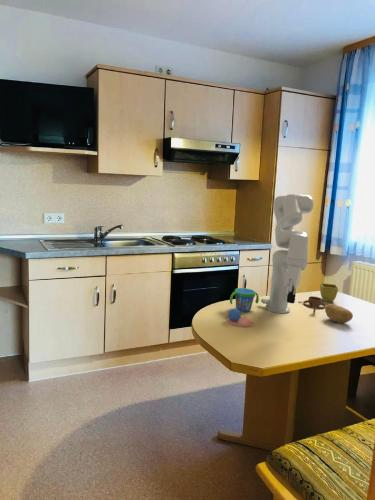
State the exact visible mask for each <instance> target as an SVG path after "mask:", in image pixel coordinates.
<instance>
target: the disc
mask: <svg viewBox="0 0 375 500" xmlns="http://www.w3.org/2000/svg"><path fill="white" fill-rule="evenodd" d="M225 322H226V323H228V325H231V326H233V327H238V326H240V328H248V327H249V326H250V327H253V326H254V325H255V322H254V321H253V320H252V319H250V318H248V317H244V316H241V317H240V319H239V320H238V321H235V322H234V321H231V320H230V319H229V317H227V318H226V319H225ZM253 324H254V325H253Z"/></svg>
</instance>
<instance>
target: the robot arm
mask: <svg viewBox="0 0 375 500" xmlns="http://www.w3.org/2000/svg"><path fill="white" fill-rule="evenodd" d="M313 200H314V199H313V197H312V196H310V195H309V194H298V193H297V194H295V193H290V194H287V195H278V196H276V197H275V198H274V200H273V214H274V217H275V222H276V225H275V229H274V235H275V238H274V239H275V244H276V246H277V248H281V249H279V250H275V251H274V252H273V254H272V258H271V260H272V261H271V262H272V272H271V273H272V274H271V282H270V283H271V284H270V290H269V298H267V299H266V298H261V299H260V302H261V303H262V304H265V309H266V310H267V311H269V312H272V313H277V314H287V313H288V314H289V312H290V311H291V308H290V307H289V306H288V304H289V303H290V304H295V301H296V296H297V295H296V291H297V289H298V287H299V285H300V282H301V275H302V271H304V270H306V268H307V267H308V257H309V256H308V255H309V253H308V251H309V235H308V234H307V233H306V232H305V231H301V230H300V231H299V230H294V226H297V225H299V224H300V223H302V221H303V214H309V213H311V212H312V211H313V209H314V201H313ZM284 249H285V250H284Z"/></svg>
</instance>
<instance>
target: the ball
mask: <svg viewBox="0 0 375 500" xmlns="http://www.w3.org/2000/svg"><path fill="white" fill-rule="evenodd" d="M240 317H242V312H241V311H239V310H238V309H236V308H231V309H230V310H229V311H228V313H227V318H229V319H230V320H231V321H234V322H235V321H238V320H239V319H240Z"/></svg>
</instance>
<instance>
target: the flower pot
mask: <svg viewBox="0 0 375 500" xmlns="http://www.w3.org/2000/svg"><path fill="white" fill-rule="evenodd" d="M319 287H320V289H319V291H320V293H319V294H320V298H321V299H322V301H324V302H330V303H332V302H334V300H336V298H337V294H338V292H339V291H338V290H339V287H338V285H336V284H334V283H322V282H320V285H319Z"/></svg>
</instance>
